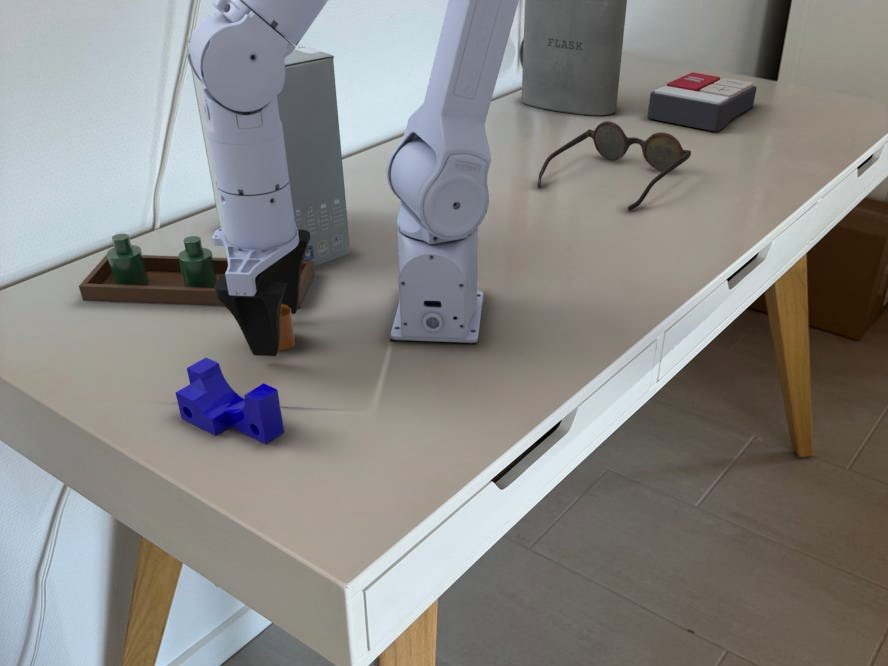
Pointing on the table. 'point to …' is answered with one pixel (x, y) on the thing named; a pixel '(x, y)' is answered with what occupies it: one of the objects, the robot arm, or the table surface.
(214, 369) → the cable holder
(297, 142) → the hard drive box
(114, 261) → the green bottle
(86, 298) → the tray
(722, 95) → the calculator
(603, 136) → the eyeglasses
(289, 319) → the amber bottle
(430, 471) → the table surface
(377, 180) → the table surface
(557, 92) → the flask
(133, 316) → the table surface
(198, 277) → the green bottle
